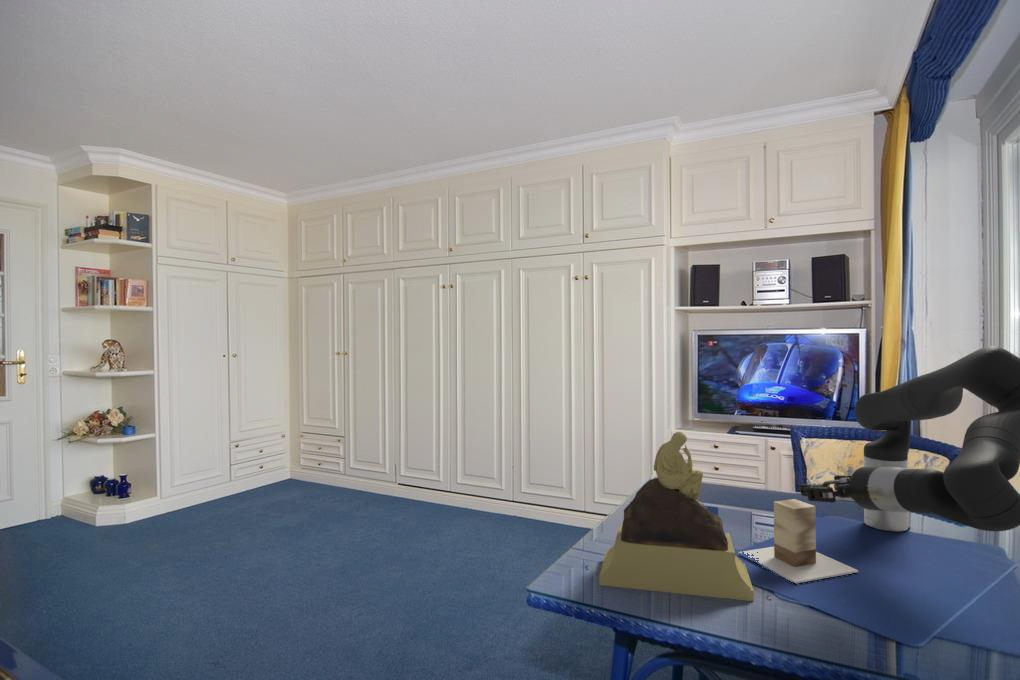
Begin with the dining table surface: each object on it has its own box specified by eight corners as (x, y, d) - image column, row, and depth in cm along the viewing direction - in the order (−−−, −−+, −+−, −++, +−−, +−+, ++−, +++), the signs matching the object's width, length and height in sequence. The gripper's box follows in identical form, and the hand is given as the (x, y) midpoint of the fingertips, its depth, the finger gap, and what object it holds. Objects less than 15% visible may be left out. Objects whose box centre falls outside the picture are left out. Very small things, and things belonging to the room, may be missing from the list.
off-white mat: (796, 545, 130) (796, 542, 130) (858, 573, 115) (858, 570, 115) (738, 554, 125) (738, 552, 125) (795, 584, 110) (795, 581, 110)
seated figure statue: (744, 573, 116) (743, 427, 116) (753, 602, 104) (752, 438, 104) (606, 560, 124) (604, 423, 123) (599, 585, 111) (597, 433, 111)
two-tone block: (815, 506, 119) (815, 563, 119) (794, 498, 124) (794, 553, 124) (794, 509, 117) (794, 567, 117) (773, 501, 122) (774, 557, 122)
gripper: (861, 520, 96) (794, 512, 111) (926, 502, 99) (853, 496, 115) (848, 475, 97) (784, 473, 113) (913, 459, 101) (842, 459, 116)
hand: (819, 485), depth 114 cm, fingers open, 8 cm apart
